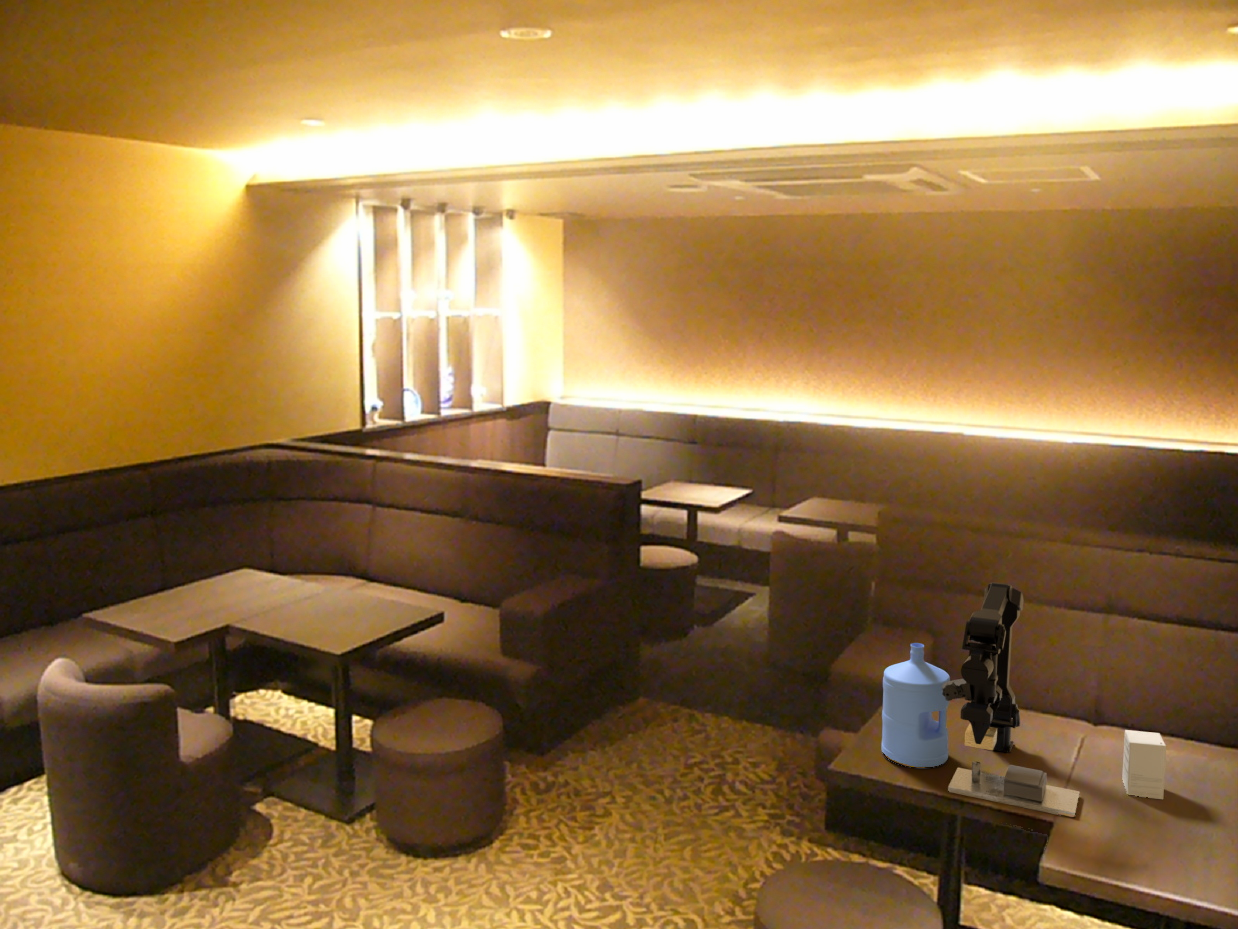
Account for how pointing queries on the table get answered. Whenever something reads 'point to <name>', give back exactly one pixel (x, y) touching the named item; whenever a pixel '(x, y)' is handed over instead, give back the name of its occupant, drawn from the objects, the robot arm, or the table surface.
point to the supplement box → (1144, 764)
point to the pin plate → (993, 790)
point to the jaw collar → (987, 741)
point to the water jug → (915, 712)
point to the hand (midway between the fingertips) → (980, 738)
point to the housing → (1025, 782)
